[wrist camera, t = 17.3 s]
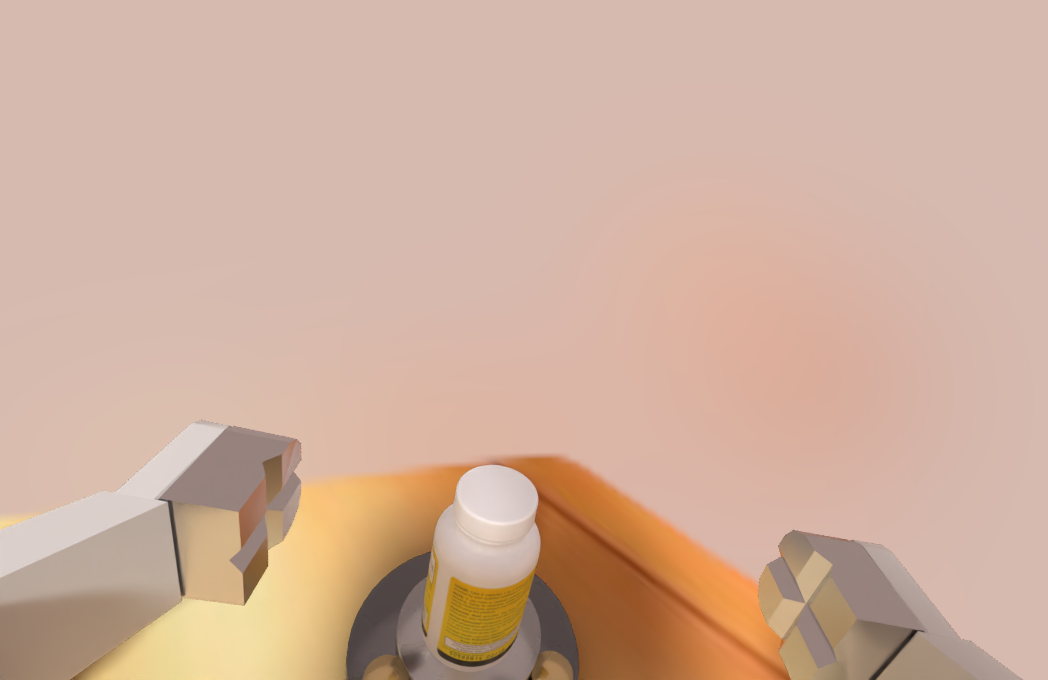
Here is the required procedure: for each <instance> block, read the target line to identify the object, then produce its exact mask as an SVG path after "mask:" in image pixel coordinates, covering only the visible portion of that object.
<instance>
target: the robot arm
mask: <svg viewBox="0 0 1048 680" xmlns="http://www.w3.org/2000/svg"><path fill="white" fill-rule="evenodd" d="M300 461H301V443H300V442H299V441H298V440H297V439H293V438H289V437H284V436H279V435H274V434H270V433H265V432H260V431H255V430H250V429H246V428H241V427H236V426H233V427H232V426H228V425H223V424H218V423H213V422H209V421H203V420H201V421H197V422H194V423H191V424H190V425H189V426H187V427H186V428H185V429H184V430H183V431H182V432H181V433H180V434H179V435H178V436H176V437H175V438H174V439H173V440H172V441H171V442H170V443H169V444H168V445H166V446H165V447H164V448H163V449H162V450H161V451H160V452H159V453H158V454H157V455H156V456H154V457H153V458H152V459H151V460H150V461H149V462H148V463H147V464H146V465H144V466H143V467H142V468H141V469H140V470H139V471H138V472H137V473H136V474H135V475H134V476H132V477H131V478H130V479H129V480H128V481H127V482H126V483H125V484H124V485H122V486H121V487H120V488H119V489H118V490H117V491H116V492H108V491H101V492H99V493H96V494H93V495H91V496H88V497H85V498H83V499H80V500H78V501H75V502H72V503H70V504H67V505H64V506H62V507H59V508H57V509H54V510H51V511H49V512H46V513H44V514H41V515H38V516H36V517H33V518H30V519H28V520H25V521H23V522H20V523H17V524H15V525H12V526H9V527H7V528H4V529H2V530H0V680H70V679H71V678H73V677H74V676H76V675H77V674H79V673H80V672H81V671H83V670H84V669H86V668H87V667H89V666H90V665H91V664H93V663H94V662H96V661H97V660H99V659H100V658H101V657H103V656H104V655H106V654H107V653H109V652H110V651H111V650H113V649H114V648H116V647H117V646H119V645H120V644H121V643H123V642H124V641H126V640H127V639H129V638H130V637H131V636H133V635H134V634H136V633H137V632H139V631H140V630H141V629H143V628H144V627H146V626H147V625H149V624H150V623H151V622H153V621H154V620H156V619H157V618H159V617H160V616H161V615H163V614H164V613H166V612H167V611H169V610H170V609H171V608H173V607H174V606H176V605H177V604H179V603H180V602H181V601H182V598H189V599H197V600H205V601H212V602H220V603H227V604H235V605H242V606H244V605H245V604H246V602H247V600H248V599H249V597H250V595H251V594H252V592H253V590H254V589H255V587H256V585H257V584H258V582H259V580H260V579H261V577H262V575H263V574H264V572H265V570H266V569H267V567H268V550H269V549H270V548H272V547H274V546H275V545H277V544H279V543H280V542H282V541H283V540H284V538H285V536H286V534H287V533H288V531H289V529H290V527H291V525H292V523H293V520H294V517H295V515H296V512H297V509H298V506H299V500H300V495H301V481H300V479H299V478H298V477H297V475H296V474H295V473H294V470H295V469H296V467H297V466H298V464H299V463H300ZM778 547H779V551H780V554H781V557H780V558H778V559H776V560H774V561H772V562H770V563H769V564H767V565H766V567H765V569H764V571H763V573H762V575H761V577H760V579H759V590H758V597H759V603H760V608H761V611H762V613H763V616H764V618H765V621H766V623H767V625H768V626H769V627H770V628H771V629H772V630H773V631H774V632H775V633H776V634H777V635H778V636H779V637H780V638H781V639H782V640H781V644H780V648H779V653H780V655H781V658H782V660H783V662H784V664H785V667H786V669H787V671H788V674H789V676H790V678H791V680H1022V679H1021V678H1020V677H1019V676H1017V675H1016V674H1014V673H1013V672H1012V671H1010V670H1009V669H1008V668H1006V667H1005V666H1004V665H1002V664H1001V663H1000V662H998V661H997V660H995V659H994V658H993V657H992V656H990V655H989V654H988V653H986V652H985V651H984V650H982V649H981V648H980V647H978V646H977V645H976V644H974V643H973V642H972V641H968V640H964V639H961V638H960V637H959V636H958V635H957V633H956V632H955V631H954V630H953V628H952V627H951V626H950V625H949V623H948V622H947V621H946V619H945V618H944V617H943V616H942V614H941V613H940V612H939V610H938V609H937V608H936V607H935V605H934V604H933V603H932V602H931V601H930V599H929V598H928V597H927V595H926V594H925V593H924V592H923V590H922V589H921V588H920V586H919V585H918V584H917V583H916V581H915V580H914V579H913V578H912V576H911V575H910V574H909V572H908V571H907V570H906V569H905V567H904V566H903V565H902V564H901V562H900V561H899V560H898V559H897V557H896V556H895V555H894V554H893V553H892V552H891V551H890V550H888V549H887V548H885V547H884V546H883V545H880V544H873V543H868V542H861V541H855V540H850V541H849V540H846V539H840V538H835V537H829V536H824V535H818V534H812V533H806V532H801V531H795V530H793V531H791V532H790V533H788V534H786V535H785V536H784V538H783V539H782V541H781V542H780V544H779V545H778ZM181 597H182V598H181Z"/></svg>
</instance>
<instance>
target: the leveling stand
mask: <svg viewBox="0 0 1048 680" xmlns="http://www.w3.org/2000/svg"><path fill="white" fill-rule="evenodd" d="M430 557H431V552H428V553H425V554H423V555H420V556H417V557H415V558H413V559H411V560H409V561H407V562H405V563H403V564H402V565H400V566H399V567H397V568H396V569H394V570H393V571H391V572H390V573H389V574H388V575H387V576H386V577H384V578H383V579H382V580H381V581H380V582H379V583H378V584H377V586H376V587H375V588H374V589H373V590H372V591H371V593H370V594H369V595H368V597H367V598H366V600H365V601H364V603H363V605H362V607H361V608H360V610H359V612H358V614H357V616H356V619H355V621H354V624H353V627H352V630H351V634H350V638H349V642H348V650H347V659H346V680H578V670H579V664H578V650H577V644H576V639H575V635H574V632H573V629H572V625H571V623H570V621H569V618H568V616H567V614H566V612H565V610H564V608H563V606H562V605H561V603H560V601H559V600H558V598H557V597H556V596H555V594H554V593H553V592H552V590H551V589H550V588H549V587H548V586H547V585H546V584H545V583H544V582H543V581H542V580H541V579H540V578H539V577H538V576H537V575H536V574H534V577H533V581H532V584H531V588H530V592H529V595H528V599H527V602H526V606H525V609H524V613H523V616H522V620H521V624H520V627H519V631H518V634H517V637H516V640H515V642H514V644H513V646H512V648H511V650H510V651H509V653H508V654H507V655H506V656H505V657H504V658H503V659H502V660H501V661H500V662H499V663H498V664H496V665H494V666H493V667H490V668H488V669H485V670H482V671H477V672H462V671H458V670H455V669H452V668H450V667H448V666H446V665H444V664H443V663H441V662H440V661H439V660H437V659H436V658H435V657H434V656H433V655H432V653H431V652H430V651H429V649H428V648H427V646H426V644H425V641H424V639H423V635H422V630H421V618H422V609H423V603H424V596H425V589H426V583H427V577H428V570H429V563H430Z"/></svg>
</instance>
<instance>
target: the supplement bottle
mask: <svg viewBox="0 0 1048 680" xmlns="http://www.w3.org/2000/svg"><path fill="white" fill-rule="evenodd" d="M537 507H538V493H537V490H536V488H535V486H534V485H533V483H532V482H531V481H530V480H529V479H528V478H527V477H526V476H525V475H523V474H522V473H520V472H518V471H516V470H514V469H512V468H509V467H505V466H500V465H483V466H479V467H476V468H473V469H471V470H469V471H468V472H466V473H465V474H464V475H463V476H462V477H461V478H460V480H459V482H458V484H457V488H456V493H455V498H454V503H452V504H451V505H450V506H449V507H447V508H446V509H445V511H444V512H443V513H442V515H441V516H440V518H439V520H438V522H437V525H436V528H435V533H434V538H433V544H432V551H431V557H430V563H429V570H428V577H427V583H426V589H425V596H424V603H423V609H422V618H421V630H422V635H423V639H424V641H425V644H426V646H427V648H428V649H429V651H430V652H431V653H432V655H433V656H434V657H435V658H436V659H437V660H439V661H440V662H441V663H443V664H444V665H446V666H448V667H450V668H452V669H455V670H458V671H462V672H477V671H482V670H485V669H488V668H490V667H493V666H494V665H496V664H498V663H499V662H500V661H501V660H502V659H503V658H504V657H505V656H506V655H507V654H508V653H509V651H510V650H511V648H512V646H513V644H514V642H515V640H516V637H517V634H518V631H519V627H520V624H521V620H522V616H523V613H524V609H525V606H526V602H527V599H528V595H529V592H530V588H531V584H532V581H533V577H534V574H535V570H536V566H537V563H538V559H539V553H540V546H541V540H540V534H539V530H538V527H537V525H536V523H535V521H534V520H535V515H536V511H537Z"/></svg>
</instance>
